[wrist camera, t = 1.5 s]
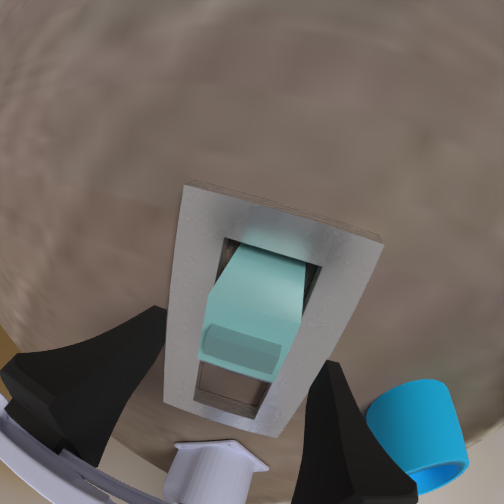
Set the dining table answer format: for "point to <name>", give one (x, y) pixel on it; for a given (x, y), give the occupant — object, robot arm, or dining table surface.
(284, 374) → the panel
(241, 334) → the plug
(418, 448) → the mug
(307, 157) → the dining table surface
